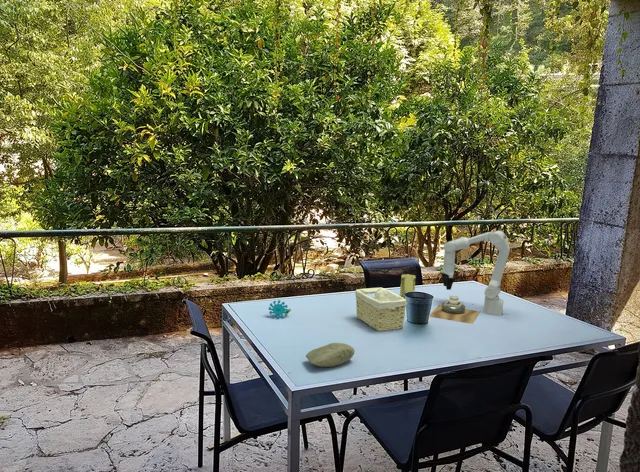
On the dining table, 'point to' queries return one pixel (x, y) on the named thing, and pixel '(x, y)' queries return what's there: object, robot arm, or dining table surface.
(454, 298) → the flanged cap
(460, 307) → the grey round socket base
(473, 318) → the board
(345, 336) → the dining table surface
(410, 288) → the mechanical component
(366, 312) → the storage basket
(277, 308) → the teal virus model
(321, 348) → the rock
